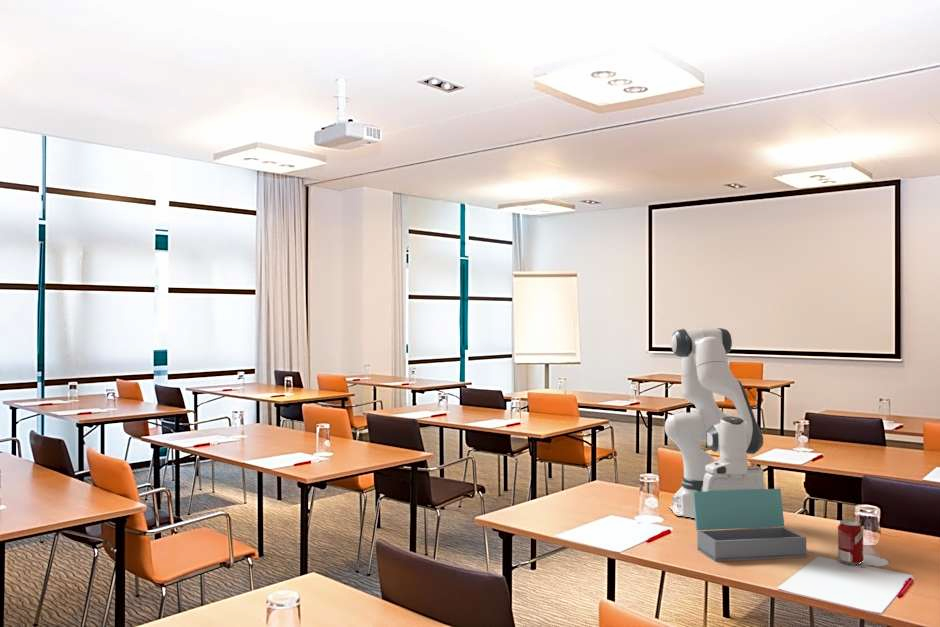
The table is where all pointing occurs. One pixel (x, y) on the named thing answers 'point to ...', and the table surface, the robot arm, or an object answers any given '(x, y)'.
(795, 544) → the grey open box
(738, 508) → the lid
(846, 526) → the soda can
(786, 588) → the table surface
